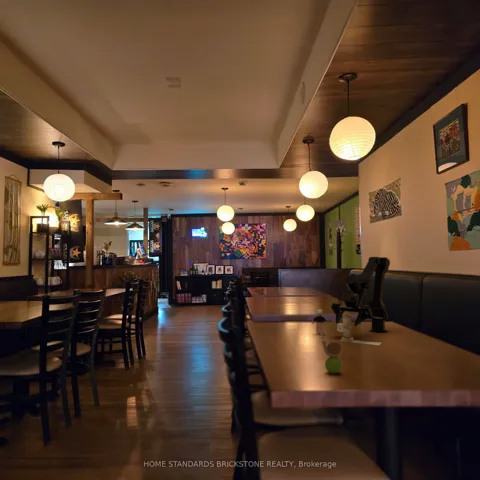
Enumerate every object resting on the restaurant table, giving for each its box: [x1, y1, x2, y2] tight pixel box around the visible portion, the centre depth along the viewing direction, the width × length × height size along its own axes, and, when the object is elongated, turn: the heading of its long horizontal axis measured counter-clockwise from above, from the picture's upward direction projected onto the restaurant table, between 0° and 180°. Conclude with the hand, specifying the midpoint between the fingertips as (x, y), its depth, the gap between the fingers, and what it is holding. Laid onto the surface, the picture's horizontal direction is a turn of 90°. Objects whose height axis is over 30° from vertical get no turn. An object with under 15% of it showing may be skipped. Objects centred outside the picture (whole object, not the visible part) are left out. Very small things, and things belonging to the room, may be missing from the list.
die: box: [336, 322, 343, 333], centre depth 200 cm, size 4×4×4 cm
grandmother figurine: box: [311, 309, 329, 336], centre depth 192 cm, size 8×4×13 cm, turn 84°
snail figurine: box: [321, 335, 343, 375], centre depth 126 cm, size 5×6×12 cm
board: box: [339, 339, 382, 346], centre depth 172 cm, size 18×7×1 cm, turn 57°
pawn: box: [341, 311, 354, 343], centre depth 175 cm, size 5×5×13 cm
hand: (345, 324), depth 174 cm, fingers open, 9 cm apart
